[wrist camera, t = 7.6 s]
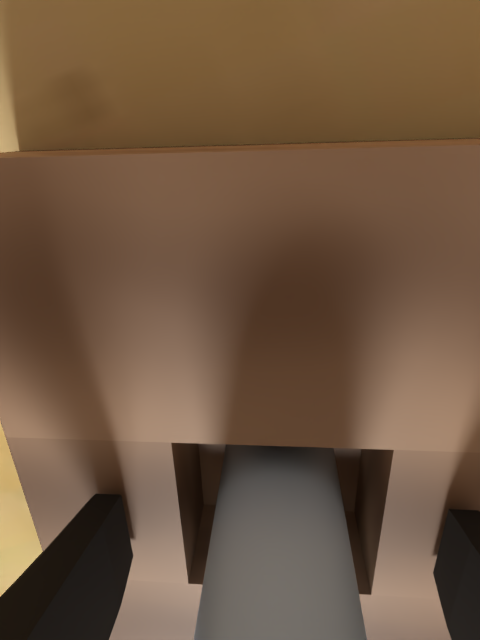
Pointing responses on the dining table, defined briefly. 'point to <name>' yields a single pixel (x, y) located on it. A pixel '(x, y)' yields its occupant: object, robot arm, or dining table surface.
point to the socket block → (245, 348)
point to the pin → (279, 550)
